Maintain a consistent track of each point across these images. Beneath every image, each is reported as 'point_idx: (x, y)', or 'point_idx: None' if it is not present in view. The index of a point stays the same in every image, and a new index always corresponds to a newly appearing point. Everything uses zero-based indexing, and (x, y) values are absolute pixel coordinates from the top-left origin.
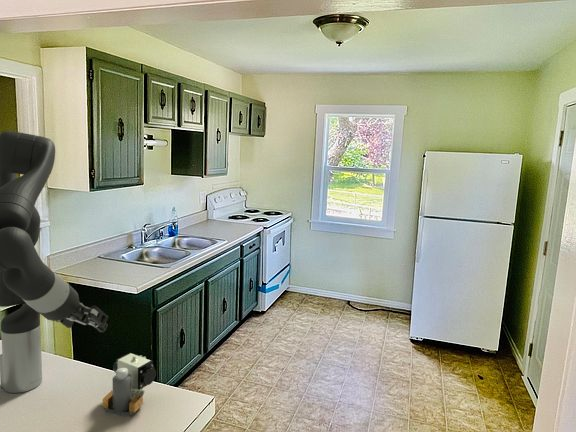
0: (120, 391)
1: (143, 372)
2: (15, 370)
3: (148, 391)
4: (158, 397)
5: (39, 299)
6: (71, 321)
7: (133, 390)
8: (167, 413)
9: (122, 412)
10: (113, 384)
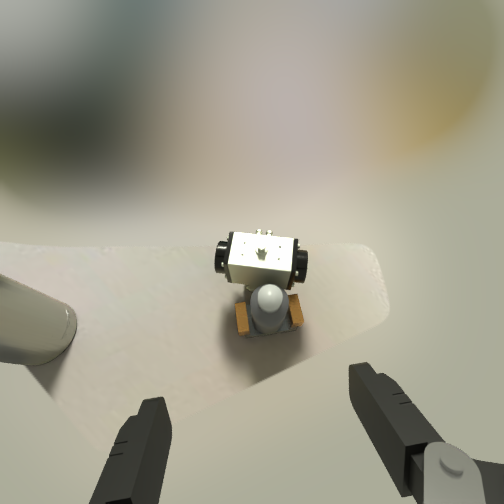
0: (278, 322)
1: (299, 271)
2: (12, 354)
3: None
4: None
5: None
6: (161, 425)
7: None
8: (342, 298)
9: (279, 331)
10: (262, 321)
